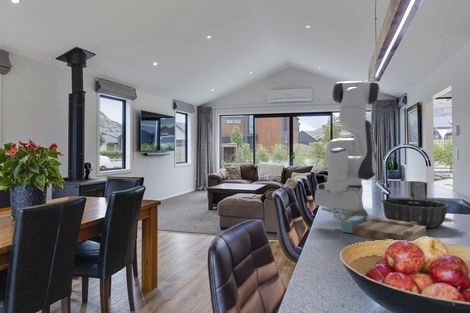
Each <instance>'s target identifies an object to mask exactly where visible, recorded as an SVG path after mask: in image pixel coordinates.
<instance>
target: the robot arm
mask: <svg viewBox="0 0 470 313" xmlns="http://www.w3.org/2000/svg"><path fill="white" fill-rule="evenodd" d="M380 95H381V87H380V85H379V83H377V82H374V81H366V80H365V81H363V80H356V81H355V80H354V81H350V80H349V81H337V82H336V83H335V84H334V85H333V87H332V90H331V97H332V100H333V101H334V102H335V103H337V104H340V109H339V117H338V118H339V119H338V120H339V123H340V124H341V125H342V126H341V127H342V128H343V130H344V131H345V132H346V133H349V134H351V135H352V138H334V139H331V140H330V141H329V142H328V143H327V144H326V153H327V155H328V156H327V164H326V166H327V177H326V181H325V182H322V183H317V184H316V191H315V192H314V204H315V206H319V207H321V210H326V211H331V213H332V214H333V219H337V220H341V219H342V215H343V212H344V209H346V210H354V211H359V210H361V209H362V208H363V209H365V207H364V203H363V191H364V190H363V188H364V187H363V184H362V182H363V180H367V181H368V180H370V179H372V178H374V176H376V175H377V170H378V167H377V160H376V153H377V150H378V149H377V144H376V142H375V141H374V133H373V131H374V130H373V126H372V124H371V121H369V120H367V117H366V114H367V104H368V105H369V106H370V105H373V104H375V103H377V102H378V100H379V98H380ZM361 199H362V200H361ZM337 212H338V213H337Z"/></svg>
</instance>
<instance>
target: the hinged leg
mask: <svg viewBox="0 0 470 313" xmlns="http://www.w3.org/2000/svg"><path fill="white" fill-rule="evenodd" d="M366 221H367V217H366V218H365V217H364V216H362V215H359V216H356V215H355V216H353V217H351V218H349V219H347V218H346V219H344V220H343V221H342V222H341V232H342V233H349V234H350V233H351V234H352V231H353V227H354V226H356V225H359V224H361V223H364V222H366Z"/></svg>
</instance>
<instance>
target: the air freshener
mask: <svg viewBox="0 0 470 313" xmlns="http://www.w3.org/2000/svg"><path fill="white" fill-rule="evenodd" d="M361 200H362V201H363V198H362V199H361ZM342 215H343V217H344V218H345V219H346V220H347V219H349V218H351V217H353V216H355V215H356V216H359V215H362V216H364V217H365V218H366V219H367V217H368V211H367V210H366V209H365V208H364V209H363V208H362V209H361V210H359V211H354V210H346V209H344V212H343V213H342Z"/></svg>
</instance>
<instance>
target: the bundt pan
mask: <svg viewBox="0 0 470 313" xmlns="http://www.w3.org/2000/svg"><path fill="white" fill-rule="evenodd" d="M435 201H436V200H428V201H427V200H417V199H409V198H384V199H382V200H381V203H382V205H383V212H384V213H383V214H384V216H385V219H391V220H399V221H406V222H417V223H418V225H420V226H426V229H427V228H428V229H432V228H439V227H440V226H442V225H443V223H444V222H445V220H446V215H447V214H446V211H447V212H448V208H449V204H447V203H445V202H443V203H440V202H435Z"/></svg>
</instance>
